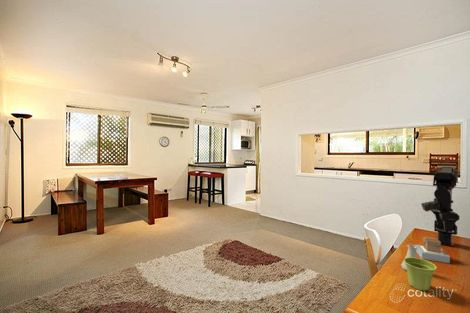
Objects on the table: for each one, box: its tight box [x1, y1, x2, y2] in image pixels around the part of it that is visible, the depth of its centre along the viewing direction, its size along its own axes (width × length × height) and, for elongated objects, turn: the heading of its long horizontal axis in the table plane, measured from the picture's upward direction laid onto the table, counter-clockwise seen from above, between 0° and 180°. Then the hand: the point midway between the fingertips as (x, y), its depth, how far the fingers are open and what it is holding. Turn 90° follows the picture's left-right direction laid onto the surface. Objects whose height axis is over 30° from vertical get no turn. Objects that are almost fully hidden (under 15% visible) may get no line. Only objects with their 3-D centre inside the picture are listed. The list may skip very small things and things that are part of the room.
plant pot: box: [403, 257, 437, 292], centre depth 86 cm, size 9×9×9 cm
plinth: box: [415, 244, 451, 264], centre depth 111 cm, size 10×10×3 cm
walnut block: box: [422, 236, 442, 253], centre depth 111 cm, size 5×5×5 cm
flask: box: [400, 244, 418, 272], centre depth 98 cm, size 7×7×10 cm
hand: (442, 228), depth 115 cm, fingers open, 9 cm apart
